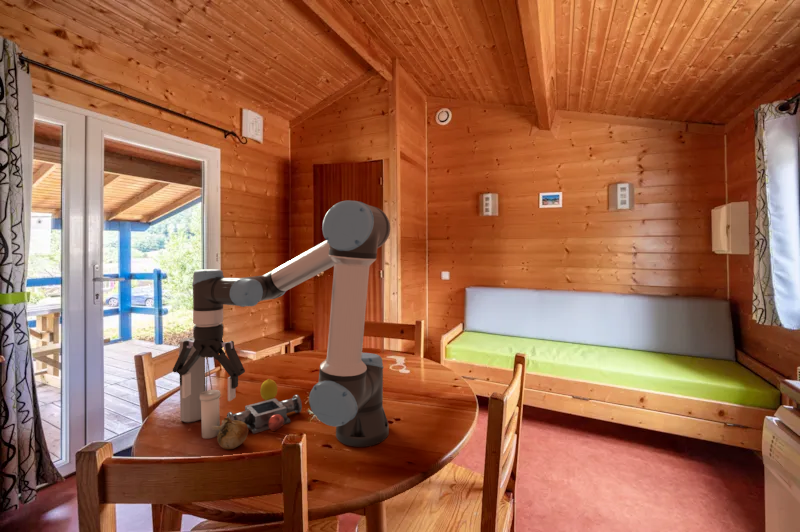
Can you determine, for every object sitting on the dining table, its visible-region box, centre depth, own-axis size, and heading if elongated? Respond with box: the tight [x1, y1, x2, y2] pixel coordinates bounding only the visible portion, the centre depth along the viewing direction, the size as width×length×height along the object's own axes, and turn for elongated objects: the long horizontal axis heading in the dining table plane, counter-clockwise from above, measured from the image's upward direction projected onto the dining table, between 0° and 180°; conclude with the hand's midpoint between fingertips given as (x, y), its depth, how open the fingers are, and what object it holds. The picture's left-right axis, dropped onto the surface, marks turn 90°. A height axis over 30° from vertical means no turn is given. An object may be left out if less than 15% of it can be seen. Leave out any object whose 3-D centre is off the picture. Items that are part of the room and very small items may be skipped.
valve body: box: [226, 394, 303, 435], centre depth 111 cm, size 14×21×6 cm
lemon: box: [259, 378, 278, 401], centre depth 127 cm, size 6×6×8 cm
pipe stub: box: [200, 389, 221, 439], centre depth 104 cm, size 5×5×12 cm
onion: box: [212, 417, 249, 450], centre depth 98 cm, size 8×8×8 cm
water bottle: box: [177, 336, 213, 423], centre depth 114 cm, size 9×8×25 cm
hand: (209, 397), depth 104 cm, fingers open, 13 cm apart
